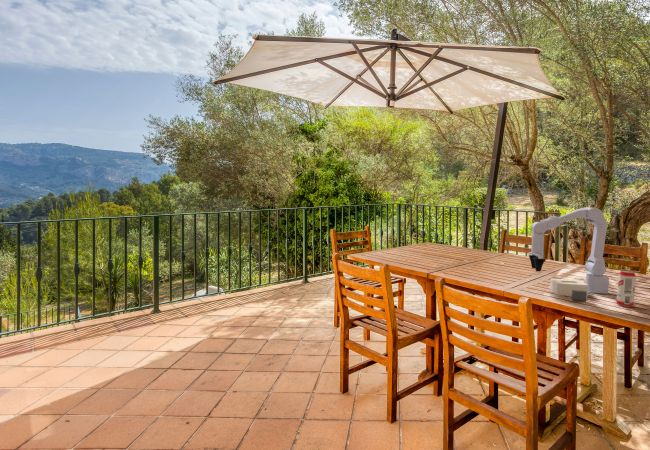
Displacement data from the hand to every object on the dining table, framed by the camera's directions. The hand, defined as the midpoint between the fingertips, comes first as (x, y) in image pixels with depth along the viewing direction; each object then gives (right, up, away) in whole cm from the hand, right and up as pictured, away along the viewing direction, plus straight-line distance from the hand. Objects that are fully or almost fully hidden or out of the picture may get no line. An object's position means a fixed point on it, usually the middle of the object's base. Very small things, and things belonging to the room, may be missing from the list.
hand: (536, 269), depth 207 cm
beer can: (+25, -13, -28) cm, 40 cm away
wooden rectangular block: (+8, -13, -22) cm, 27 cm away
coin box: (+12, -11, -9) cm, 18 cm away
